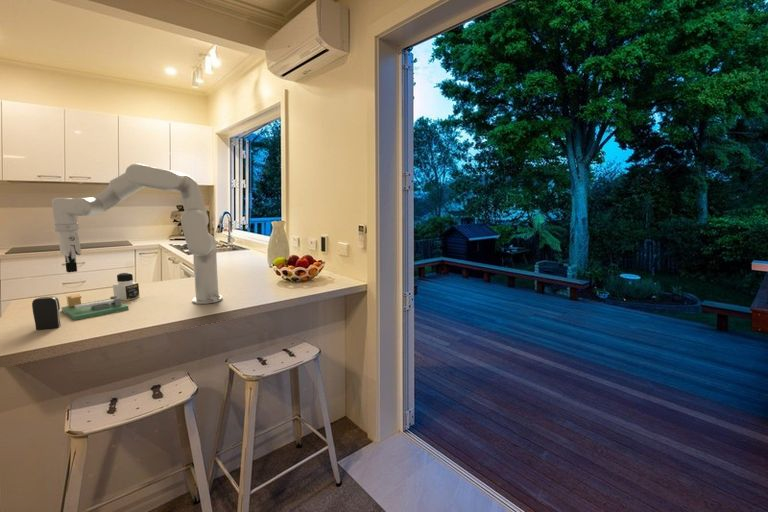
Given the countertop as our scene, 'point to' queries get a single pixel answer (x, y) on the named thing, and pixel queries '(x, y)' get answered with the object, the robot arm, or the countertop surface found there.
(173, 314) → the countertop surface
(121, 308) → the board
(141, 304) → the countertop surface
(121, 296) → the medicine bottle
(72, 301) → the tan wooden block
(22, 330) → the countertop surface
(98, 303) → the grey flat bar
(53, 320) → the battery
